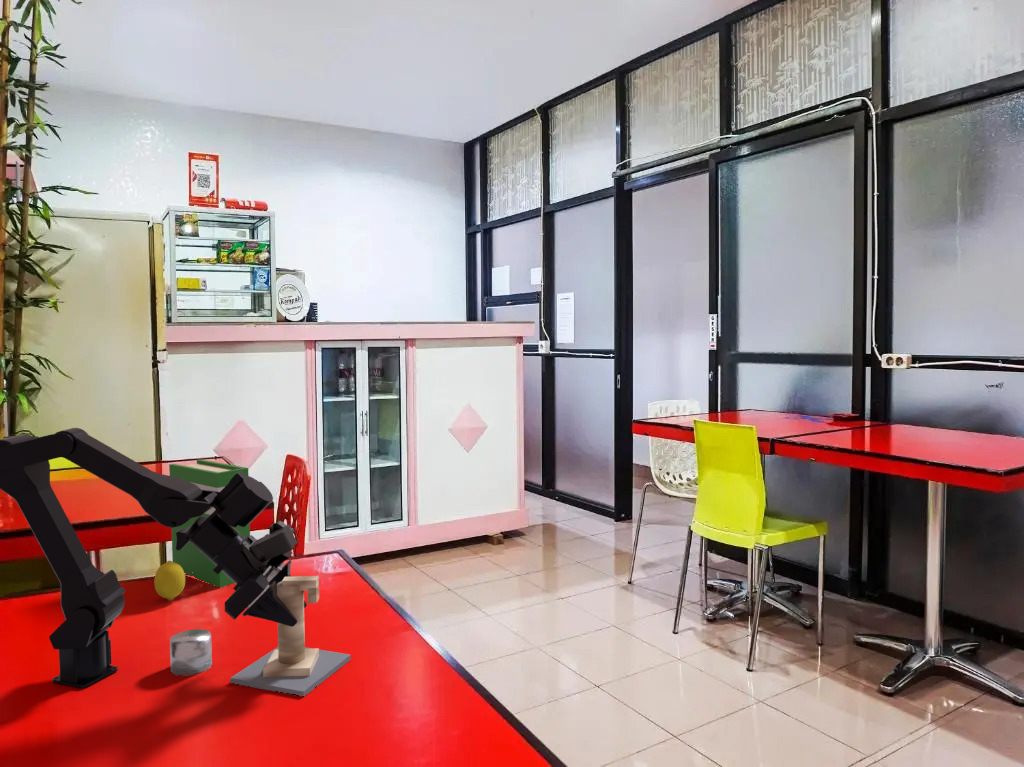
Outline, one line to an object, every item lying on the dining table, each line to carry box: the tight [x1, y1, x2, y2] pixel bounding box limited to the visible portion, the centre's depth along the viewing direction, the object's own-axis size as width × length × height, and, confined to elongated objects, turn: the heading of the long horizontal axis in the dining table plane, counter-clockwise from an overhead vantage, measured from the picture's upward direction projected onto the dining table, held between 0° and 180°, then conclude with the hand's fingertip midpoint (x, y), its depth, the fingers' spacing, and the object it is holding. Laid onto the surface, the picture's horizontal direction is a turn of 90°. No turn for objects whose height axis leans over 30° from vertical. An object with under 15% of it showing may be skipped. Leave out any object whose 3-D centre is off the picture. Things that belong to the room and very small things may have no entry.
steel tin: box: [169, 628, 213, 677], centre depth 118 cm, size 6×6×5 cm
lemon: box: [153, 560, 186, 602], centre depth 147 cm, size 6×6×8 cm
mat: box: [229, 646, 352, 697], centre depth 117 cm, size 13×13×1 cm
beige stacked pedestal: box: [263, 575, 320, 677], centre depth 117 cm, size 8×7×14 cm
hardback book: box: [168, 459, 251, 589], centre depth 162 cm, size 18×7×24 cm, turn 55°
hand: (300, 615), depth 117 cm, fingers open, 6 cm apart
